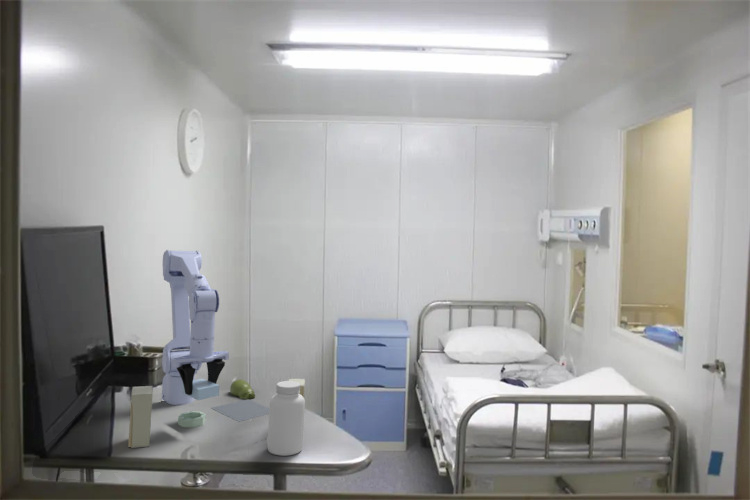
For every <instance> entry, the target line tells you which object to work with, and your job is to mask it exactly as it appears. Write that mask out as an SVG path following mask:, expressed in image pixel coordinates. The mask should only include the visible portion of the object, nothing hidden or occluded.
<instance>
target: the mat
mask: <svg viewBox="0 0 750 500" xmlns="http://www.w3.org/2000/svg"><path fill="white" fill-rule="evenodd" d="M269 408H270V407H268V406H266V405H263V404H262V403H258V402H256V401H253V400H252V399H241V400H238V401H234V402H230V403H226V404H222V405H217V406H212V407H210V410H211V409H212V410H213V411H215V412H218V413H220V414H221V415H224V416H226V417H228V418H231V419H232V420H233V421H237V422H238V423H240V422H244V421H247V420H251V419H255V418H258V417H259V418H260V417H264V416H265V415H269Z"/></svg>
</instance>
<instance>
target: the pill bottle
mask: <svg viewBox="0 0 750 500" xmlns="http://www.w3.org/2000/svg"><path fill="white" fill-rule="evenodd" d="M275 389H276V391H275V392H276V394H274V395H273V396H272V397H271V398H270V401H269V407H268V408H269V414H268V428H267V429H268V430H267V431H268V432H267V451H268V452H269V453H270V454H272V455H275V456H280V457H281V456H283V457H285V456H286V457H287V456H293V455H296V454H298V453H301V451H302V449H303V446H304V444H303V443H304V432H305V431H304V430H305V429H304V428H305V426H304V425H305V412H306V411H305V409H306V401H305V397H303V396H302V395H300V394H299V393H300V384H299V383H298V382H295V381H288V380H284V381H279V382H277V384H276V388H275Z"/></svg>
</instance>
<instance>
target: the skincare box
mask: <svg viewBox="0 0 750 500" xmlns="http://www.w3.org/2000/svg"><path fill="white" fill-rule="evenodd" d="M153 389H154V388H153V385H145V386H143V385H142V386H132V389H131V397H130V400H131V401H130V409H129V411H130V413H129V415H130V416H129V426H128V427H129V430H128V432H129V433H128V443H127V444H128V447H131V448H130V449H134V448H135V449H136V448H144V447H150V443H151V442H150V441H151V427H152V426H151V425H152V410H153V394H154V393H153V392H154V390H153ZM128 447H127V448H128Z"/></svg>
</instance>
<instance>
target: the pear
mask: <svg viewBox="0 0 750 500" xmlns="http://www.w3.org/2000/svg"><path fill="white" fill-rule="evenodd" d="M229 391H230V394H231V395H232V396H235V397H238V398H239V399H241V400H247V399H249V400H251V399H256V394H255V391H254V390H253V389H252V386H251V384H250V383H249V382H248V381H246V380H244V379H236V380H235V381H233V382H232V383H231V384H230V388H229Z"/></svg>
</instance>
